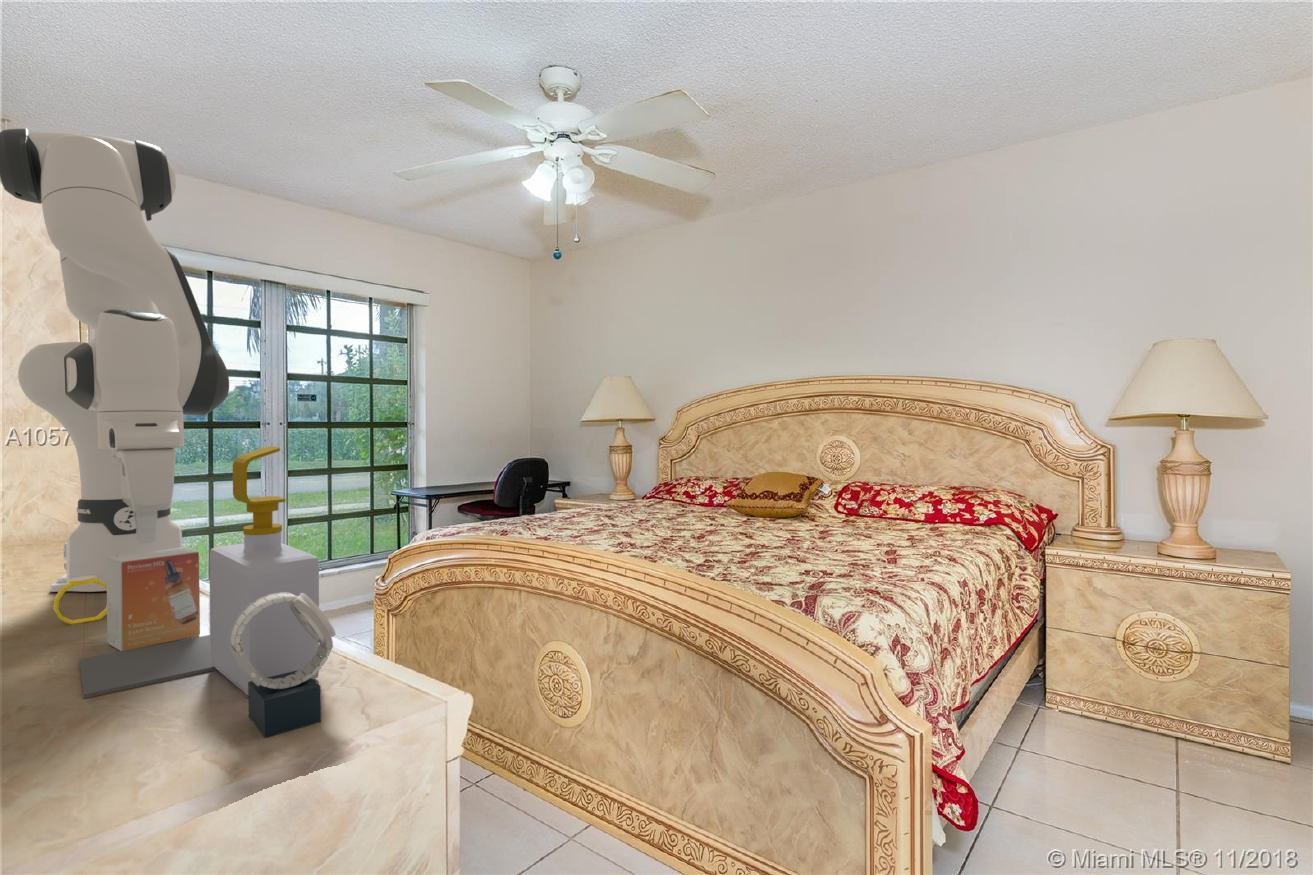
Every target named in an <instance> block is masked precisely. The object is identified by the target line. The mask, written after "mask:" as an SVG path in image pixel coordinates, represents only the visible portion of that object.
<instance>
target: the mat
mask: <svg viewBox="0 0 1313 875" xmlns="http://www.w3.org/2000/svg"><path fill="white" fill-rule="evenodd" d="M78 660H79V670H80V679H81V686H82V694H83V695H82V696H83V699H87V698H92V697H97V696H102V695H106V694H111V693H116V692H121V691H125V690H130V689H134V688H138V687H144V686H149V685H153V684H157V683H162V682H166V681H167V682H168V681H172V680H176V679H181V678H186V677H190V676H196V675H199V674H203V673H209V672H213V671H216V670H217V669H216V668H215V667H214V666H213V665H212V662H211V660H210V634H209V635H202V636H197V637H192V638H187V639H181V640H176V641H171V642H165V643H160V644H155V645H150V646H146V647H141V648H136V649H131V650H125V651H120V650H119V651H116V652H115V651H114V652H111V653H110V652H109V653H105V654H104V653H103V654H98V655H94V656H88V657H83V658H79V659H78ZM217 671H218V670H217Z"/></svg>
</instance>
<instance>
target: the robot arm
mask: <svg viewBox="0 0 1313 875" xmlns="http://www.w3.org/2000/svg"><path fill="white" fill-rule="evenodd" d="M166 154H167V153H165V152H164V151H163V150H162V149H161V148H160V147H159V146H157V145H155V144H154V145H153V144H151V143H147V142H144V141H141V140H135V141H131V140H128V139H122V138H118V137H114V136H108V135H102V134H101V135H100V134H95V133H88V132H83V133H80V132H78V133H77V132H67V131H66V132H65V131H50V130H47V131H46V130H39V131H37V130H33V131H32V130H30V131H29V129H28V128H10V129H2V130H1V131H0V184H1V185H2V186H3V189H4V191H6V192H7V193H9V194H10V195H11V196H13V197H14V198H15V199H18V200H21V201H25V202H30V203H33V204H40V205H41V207H42V216H43V220H44V224H45V229H46V231H47V234H48V237H49V239H50V241H51V243H52V245H53V246H54V247H55V248H56V249H57V251H58V252H59V261H60V267H61V268H60V269H61V274H62V275H61V276H62V280H63V288H64V294H65V300H66V306H67V309H68V310H69V311H70V313H71V314H72V315H73V317H74V318H76V319H77V320H78V321H79V322H81V323H83V324H84V325H85V326H88V327H90V328H92V329H94V330H95V331H96V334H95V336H94V338H93V339H92V340H91V341H89V342H83V341H82V342H81V341H67V342H65V341H63V342H54V343H53V342H51V343H41V344H37V345H35V346H34V347H32V348H31V349H30V350H29V351H27V353H25V355H24V356H23V358H22V359H21V361H20V364H19V367H18V372H17V373H18V374H17V377H18V383H19V386H20V388H21V390H22V392H23V393H24V395H25V396H26V397H27V398H28V400H30V401H31V402H32V403H33V404H34V405H36V406H38V407H39V408H41V409H43V410H45V412H47V413H48V414H50V416H53V417H54V418H55V419H56V420H57V421H58V422H59V423H60V424H61V426H63V428H64V429H65V430H66V432H67V433H68V435H69V436H70V438H71V440H72V442H73V444H74V447H75V450H76V455H77V460H78V468H79V478H80V479H79V480H80V496H81V497H80V498H79V499H78V500H77V507H76V513H77V521H78V522H79V525H78V526H77V528H76V529H75V530H74V531H72V532H71V533H70V534H69V536H67V537H66V542H64V545H63V559H64V560H66V561H64V564H63V566H64V567H63V568H64V570H65V571H66V573H65V574H64V575H62V576H60V578H58V579H57V580H56V581H54V582H52V584H50V587H49V592H51V593H52V592H53V593H54V592H57V593H58V592H59V591H60V589H61V588H63V587H64V586H65V585H67V584H69V580H70V579H72V578H76V577H81V576H89V575H95V576H97V579H98V580H100V581H103V582H105V583H106V584H107V580H106V558H107V557H110V556H123V555H131V554H138V553H146V552H153V551H161V550H168V549H174V548H180V547H183V546H184V545H183V531H182V527H181V526H180V525H178V524H177V523H175V522H173V520H172V519H171V517H169V516H170V515H171V506H172V501H173V496H174V485H175V470H176V450H175V449H180V448H181V447H185V431H184V430H185V428H184V415H187V416H188V415H189V416H199V417H204V416H205V415H207V414H209V413H211V412H213V411H214V410H215V409H217V408H218V407H219V406H220V405H221V404H223V402H225V400H226V399H227V397H228V395H229V392H230V379H229V378H230V377H229V372H228V369H227V366H226V364H225V362H224V361H223V359H222V356H221V355H220V353H219V352H218V350H217V349H216V347H215V345H214V343H213V341H212V338H211V336H210V334H209V331H208V329H207V326H206V324H205V322H204V319H203V315H202V314H201V313H202V312H200V309H199V306H198V302H197V301H196V298H195V295H194V293H193V291H192V290H193V289H192V288H191V286H190V283H189V281H188V279H187V276H186V274H185V272H184V269H183V267H182V265H181V264H180V262H179V260H178V258H177V257H176V255H175V254H174V253H173V252H171V251H170V250H168V249H167V248H166V247H164V246H162V244H161V243H160V242H159V241H158V240H157V239H156V238H155V236H153V234H152V233H151V232H150V230H149V229H148V227H147V225H146V223H145V221H144V219H143V214H142V211H144V214H145V218H146V221H147V222H149V221H152V216H153V215H156V214H158V213H160V212H162V211H163V210H165V209H166V208H167V207H168V206H169V205H170V204H171V203H172V202H173V201H172V200H173V196H174V195H175V191H176V186H177V178H176V174H175V171H174V170H175V169H174V168H173V166H172V164H171V162H170V161H169V159H168V158H167V155H166ZM155 306H156V307H155ZM156 308H157V309H158V311H159V313H158V312H157V310H156ZM65 592H81V593H82V592H84V593H86V592H87V593H90V592H107V589H106V588H105V587H104V586H103V585H100V584H97V583H90V584H85V585H77V586H73V587H71V588H70V589H68V590H66V591H65Z"/></svg>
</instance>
